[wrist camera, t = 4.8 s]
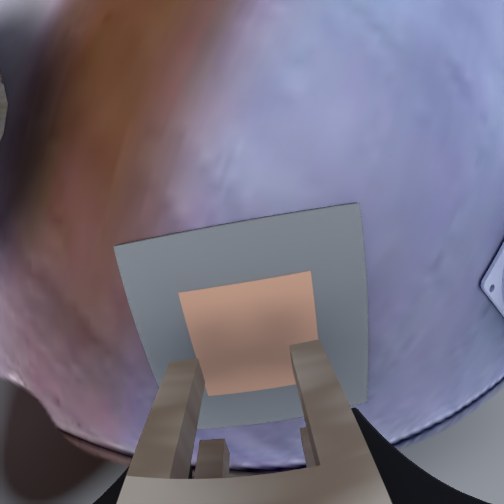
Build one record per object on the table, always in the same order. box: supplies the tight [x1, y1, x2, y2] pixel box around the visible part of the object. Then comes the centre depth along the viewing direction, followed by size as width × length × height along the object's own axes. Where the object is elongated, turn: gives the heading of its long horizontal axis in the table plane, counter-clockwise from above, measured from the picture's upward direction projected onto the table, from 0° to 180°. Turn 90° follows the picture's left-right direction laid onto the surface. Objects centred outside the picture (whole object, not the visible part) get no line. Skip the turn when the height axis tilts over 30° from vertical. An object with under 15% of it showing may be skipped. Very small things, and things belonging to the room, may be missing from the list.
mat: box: [114, 203, 368, 429], centre depth 15 cm, size 12×12×1 cm
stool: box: [117, 339, 392, 504], centre depth 7 cm, size 5×5×6 cm
